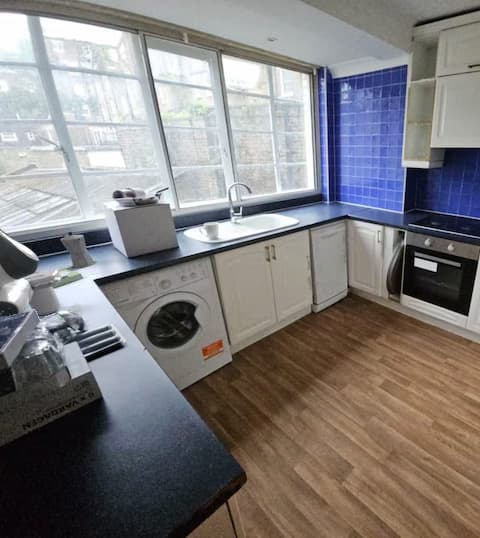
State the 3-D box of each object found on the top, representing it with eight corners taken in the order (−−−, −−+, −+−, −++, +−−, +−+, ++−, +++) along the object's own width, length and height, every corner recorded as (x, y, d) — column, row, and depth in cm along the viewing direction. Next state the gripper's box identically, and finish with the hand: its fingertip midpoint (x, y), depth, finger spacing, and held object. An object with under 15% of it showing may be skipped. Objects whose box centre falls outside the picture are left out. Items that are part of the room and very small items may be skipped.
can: (33, 312, 111) (18, 283, 106) (60, 304, 116) (46, 276, 112) (36, 318, 107) (20, 289, 102) (64, 309, 112) (50, 281, 107)
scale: (44, 290, 128) (41, 284, 127) (29, 285, 133) (26, 279, 132) (82, 277, 139) (80, 272, 138) (67, 273, 145) (64, 268, 144)
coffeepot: (101, 262, 157) (87, 230, 150) (80, 269, 150) (65, 235, 142) (85, 259, 163) (71, 228, 156) (64, 265, 155) (48, 233, 148)
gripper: (54, 272, 90) (58, 260, 100) (-50, 294, 79) (-34, 278, 89) (63, 290, 93) (66, 277, 103) (-36, 314, 81) (-22, 297, 91)
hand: (19, 278), depth 96 cm, fingers open, 8 cm apart
